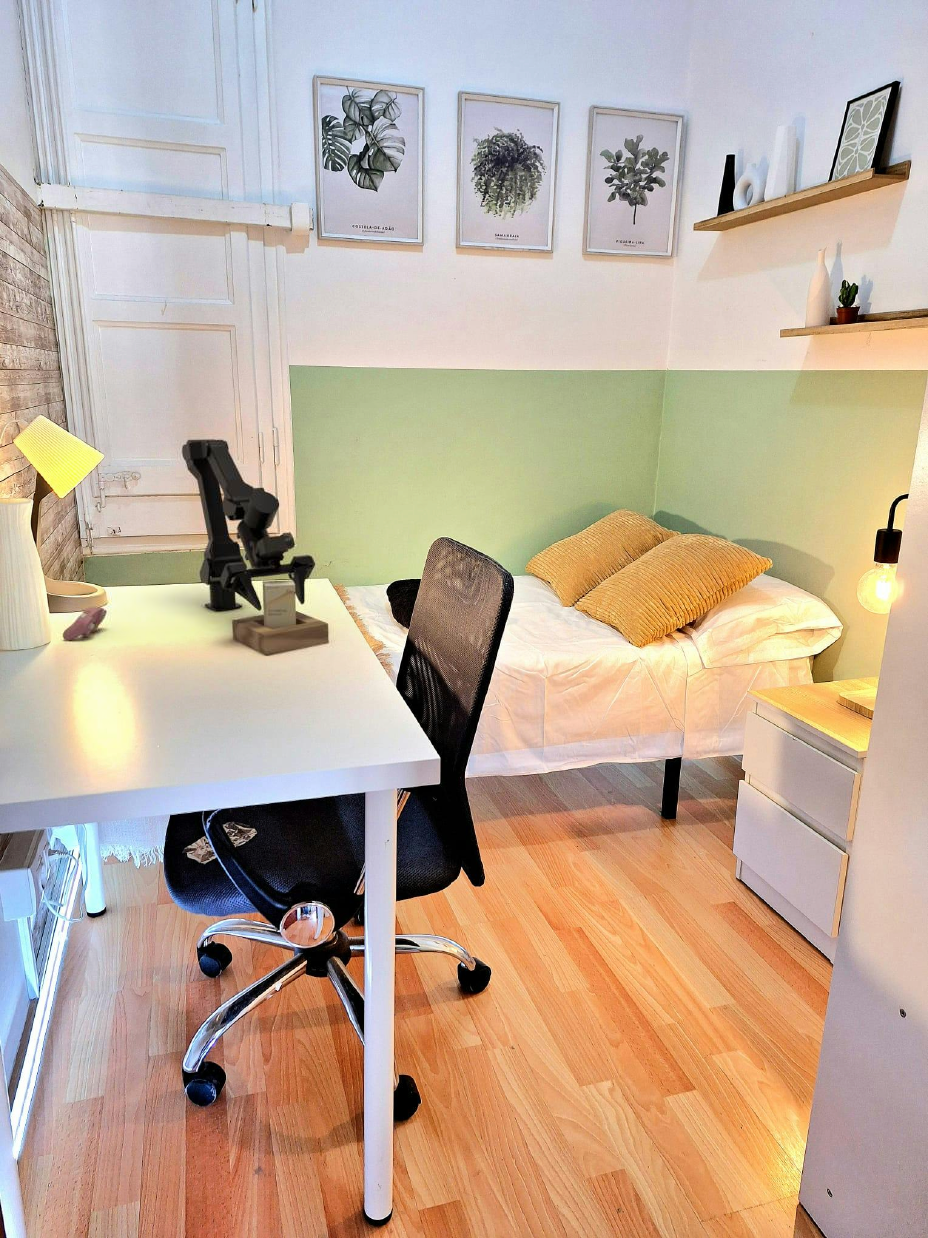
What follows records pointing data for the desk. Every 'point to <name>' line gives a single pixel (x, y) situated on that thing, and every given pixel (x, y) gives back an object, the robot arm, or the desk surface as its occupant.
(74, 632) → the pink toy car
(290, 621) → the skincare box
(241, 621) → the frame
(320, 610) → the desk surface
